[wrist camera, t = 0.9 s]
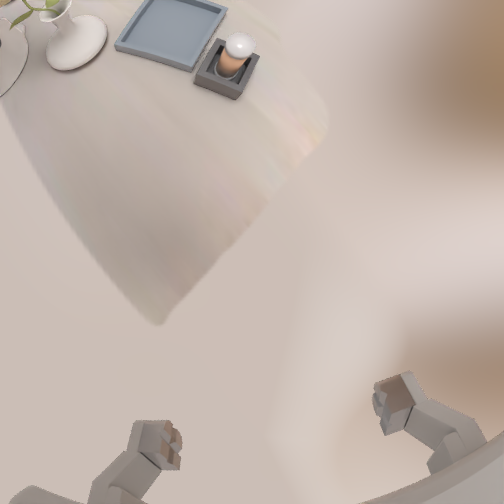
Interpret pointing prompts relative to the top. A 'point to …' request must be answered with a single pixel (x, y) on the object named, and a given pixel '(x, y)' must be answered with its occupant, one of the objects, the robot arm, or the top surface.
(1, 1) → the flower in vase
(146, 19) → the parts tray
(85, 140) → the top surface
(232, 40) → the tan bottle
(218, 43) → the socket block
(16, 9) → the top surface
